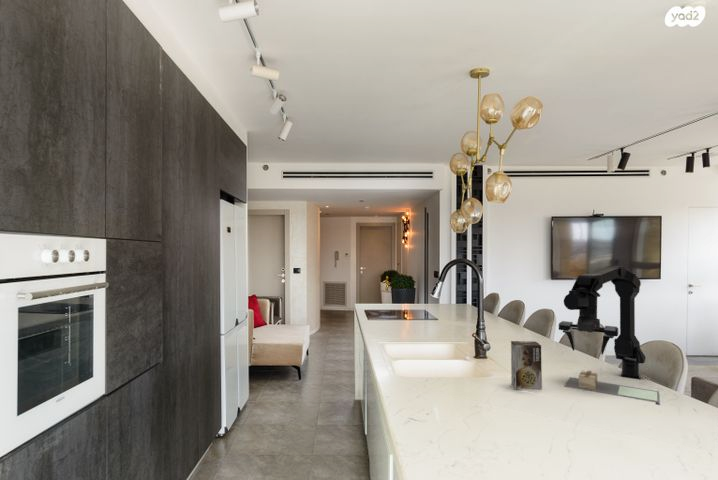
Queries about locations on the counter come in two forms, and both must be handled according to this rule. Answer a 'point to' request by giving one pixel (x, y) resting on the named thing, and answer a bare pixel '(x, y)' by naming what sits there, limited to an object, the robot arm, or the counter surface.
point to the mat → (618, 390)
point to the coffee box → (526, 365)
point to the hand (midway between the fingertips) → (587, 352)
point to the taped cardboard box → (588, 379)
